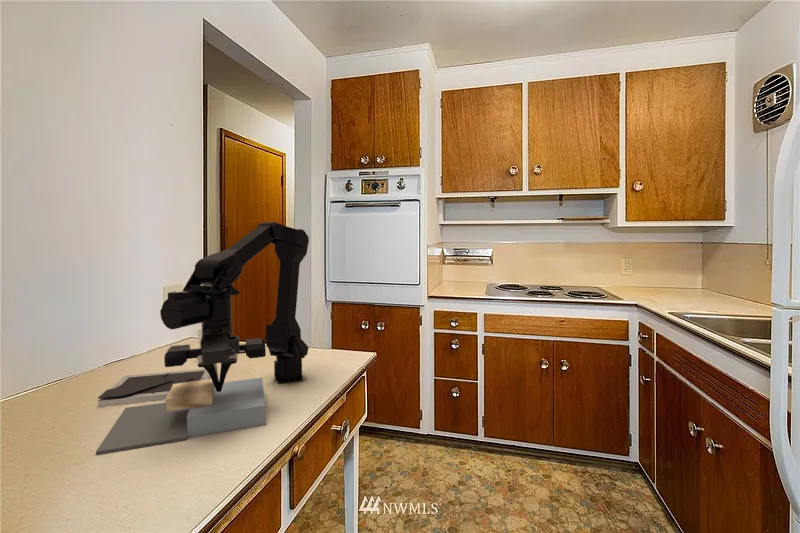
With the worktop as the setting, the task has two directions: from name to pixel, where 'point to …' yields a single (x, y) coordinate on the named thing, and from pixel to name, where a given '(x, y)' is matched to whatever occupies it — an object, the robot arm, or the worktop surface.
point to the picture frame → (148, 386)
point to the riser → (230, 409)
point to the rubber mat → (145, 428)
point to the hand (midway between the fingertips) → (219, 391)
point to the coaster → (190, 395)
